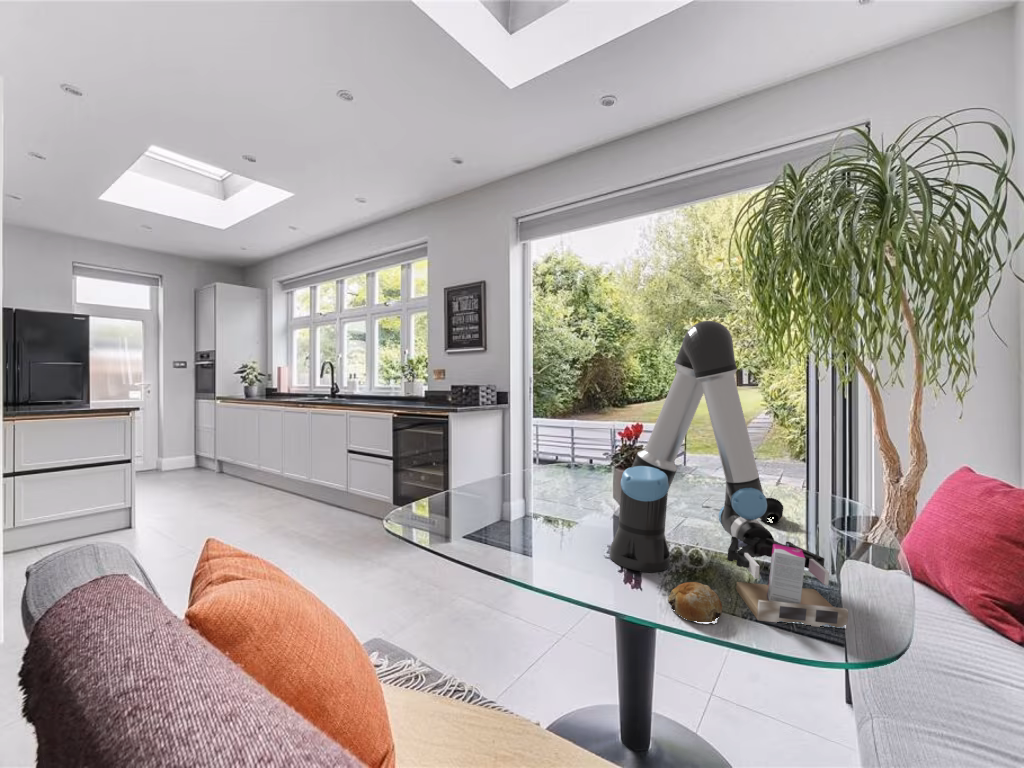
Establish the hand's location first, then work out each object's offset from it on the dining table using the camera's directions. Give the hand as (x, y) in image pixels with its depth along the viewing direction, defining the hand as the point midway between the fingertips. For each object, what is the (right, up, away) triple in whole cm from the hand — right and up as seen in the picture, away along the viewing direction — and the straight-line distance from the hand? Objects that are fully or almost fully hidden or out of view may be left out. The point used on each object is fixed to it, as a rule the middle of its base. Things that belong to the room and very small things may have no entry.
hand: (791, 575), depth 99 cm
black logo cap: (+30, -7, +66) cm, 73 cm away
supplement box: (0, -7, +4) cm, 8 cm away
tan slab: (+2, -9, +6) cm, 11 cm away
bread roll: (-20, -9, +2) cm, 22 cm away
